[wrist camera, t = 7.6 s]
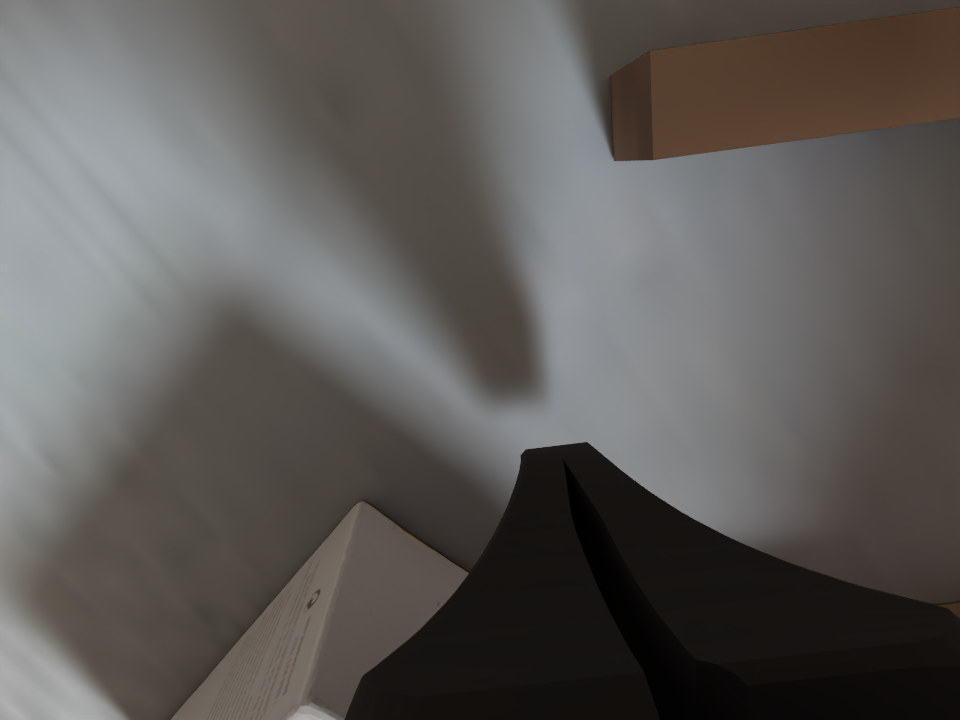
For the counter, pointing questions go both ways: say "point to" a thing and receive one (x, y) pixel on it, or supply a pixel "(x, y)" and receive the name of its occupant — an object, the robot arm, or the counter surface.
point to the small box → (329, 625)
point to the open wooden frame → (789, 88)
